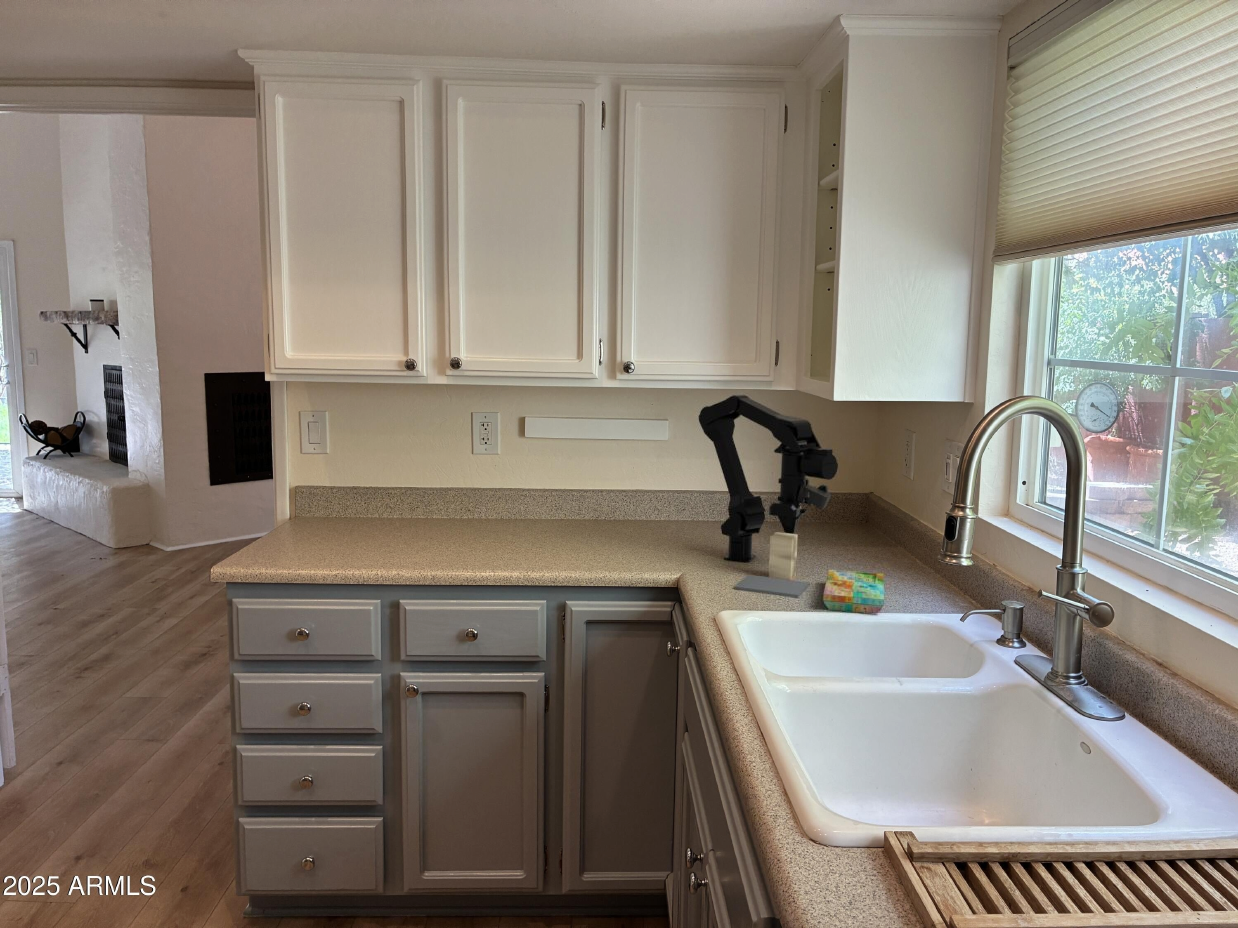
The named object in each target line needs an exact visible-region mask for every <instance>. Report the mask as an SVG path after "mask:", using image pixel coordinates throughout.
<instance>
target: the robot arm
mask: <svg viewBox="0 0 1238 928" xmlns="http://www.w3.org/2000/svg"><path fill="white" fill-rule="evenodd" d="M741 416H742V417H744V418H746V419H747V420H750V421H751V422H753V423H755V424H757V425H759V426H761V427H762V428H765V429H767V430H768V431H769V432H771V434H772V436H773V438H775V440H777V441H778V442H780V445H779V446H777V447H776V448H774V450H773V451H774V453H775V454H781V465H780V466H781V467H780V478H778V481H777V482H778V484H780V488H779V489H780V490H779V495H778V496H777V500H776V501H774V502H772V504H770V505H769V506H768V507H769V511H768V512H769V513H768V515H769V516H775V517H776V516H777V518H778V520H779V522H780V525H781V526H782V529H783V531H784V532H783V533H790V534H796V531H797V528H798V525H799V521H800V518H801V517H802V516H803V515H804V514H805V513H806V512H808V509H806V508H802V504H805V505H808V506H809V507H812V506H814V507H815V508H817V509H819V510H824V509H825V508H826V507H827V504H828V503H829V500H830V499H831V493H830V492H829V486H828V485H825V484H821V485H819V486H818V487H817V486H815V485H814V486H813V485H810V479H809V478H815V479H821V480H827V481H829V480H832V479H833V478H834V477H835V476H836V474H837V472H838V468H839V463H838V460H837V458H836V456H835V455H834V454H833V449H832V448H822V446H821V444H820V443H819V441H818V439H817V437H816V434H815V433H814V431H813V427H812V424H811V423H810V421H809V420H807V419H804V418H800V417H797V416H790V415H784V414H781V413H779V412H777V411H775V410H773V409H772V408H769V407H767V406H765V405H764V404H762V403H759V402H757V401H755V400H753V399H752V398H750V396H747V395H745V394H736V395H735V394H733V395H731V396H729V397H728V398H726V399H724V400H722V401H719V402H717V403H714V404H712V405H706V406H704V407H703V408H701V410H700V411H699V414H698V422H699V424H700V426H701V427H700V428H701V429H702V431H703V433H704V435H705V436H707V438H708V439H710V441H711V442H712V444H713V446H714V449H715V452H716V455H717V459H718V463H719V464H720V465H719V466H720V469H721V472H722V475H723V478H724V482H725V484H726V489H727V492H728V494H729V502H728V507H727V512H728V518H727V519H726V520H725V521H724V522H723V523H722V524H721V526H720V530H721V534H722V535H724V536H727V537H728V548H727V549H728V551H727V552H728V553H727V554H726V555H724V556H723V559H724V560H727V561H736V562H745V563H749V562H751V561H753V560H754V559H755V558H756V556H757V555H756V554H754V553H753V554H752V551H753V535H756V534H760V532H761V529H762V526H763V524H764V522H765V520H766V515H765V514H766V513H765V512H767V511H766V509H765V507H764V505H763V500H762V497H761V495H756V496H754V494H753V493H752V492H751V491H750V487H749V485H748V482H747V479H746V475H745V472H744V469H743V466H742V462H741V459H740V457H739V452H738V451H737V448H736V443H735V441H734V432H735V428H736V425H735V424H736V423H735V420H738V419H739V418H740V417H741ZM808 477H809V478H808Z"/></svg>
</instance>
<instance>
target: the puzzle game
mask: <svg viewBox="0 0 1238 928" xmlns="http://www.w3.org/2000/svg"><path fill="white" fill-rule="evenodd" d="M884 580H885V578H884V574H883V573H878V572H877V573H876V572H875V573H874V572H864V571H863V572H862V571H852V570H838V569H837V570H836V569H828V571H827V576H826V581H825V585H824V590H823V595H822V596H823V597H822V601H823V603H824V605H825V606H826V607H827V609H828V610H829V611H838V612H847V613H848V612H849V613H858V612H865V613H864V614H869V613H877V614H878V613H879V612H880V611H881V610H882V608H883V607H884V604H885V595H884V594H885V587H884V586H885V585H884V583H885V581H884Z"/></svg>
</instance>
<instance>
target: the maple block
mask: <svg viewBox="0 0 1238 928" xmlns="http://www.w3.org/2000/svg"><path fill="white" fill-rule="evenodd" d="M769 541H770V542H769V559H768V560H769V562H768V563H769V565H768V577H771V578H779V579H786V580H795V579H796V578H797V575H796V574H797V558H798V554H797V553H798V533H795V534H790V533H785V532H780V531H775V532H774V533H773V534H772V535H770V537H769Z"/></svg>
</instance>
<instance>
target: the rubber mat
mask: <svg viewBox="0 0 1238 928" xmlns="http://www.w3.org/2000/svg"><path fill="white" fill-rule="evenodd" d="M810 585H811V582H808V581H801V580H795V579H793V580H786V579H779V578H771V577H769V576H761V575H753V574H748V575H747V576H746V577H744V578H743V579H742V580H741V581H739V582H738V583H737V584H735V586H734V590H739V591H745V592H751V593H752V592H754V593H759V594H760V593H761V594H767V595H776V596H783V597H790V598H798V599H799V597H800V596H801V595H802V594H803V593H804V592H805V591H806V590H807V589H808V587H810Z"/></svg>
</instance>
